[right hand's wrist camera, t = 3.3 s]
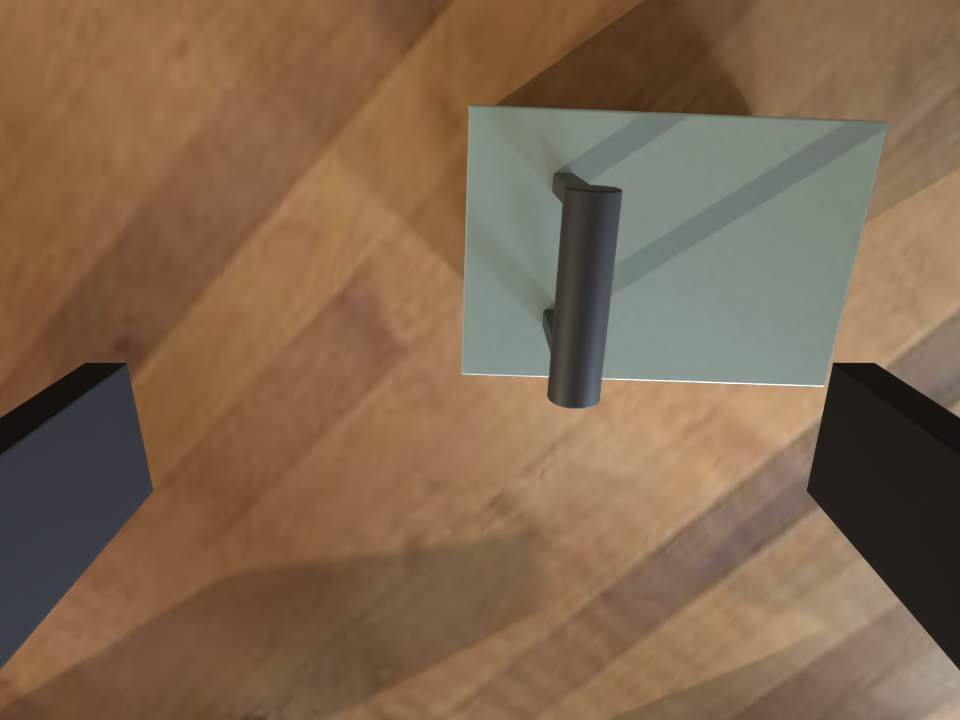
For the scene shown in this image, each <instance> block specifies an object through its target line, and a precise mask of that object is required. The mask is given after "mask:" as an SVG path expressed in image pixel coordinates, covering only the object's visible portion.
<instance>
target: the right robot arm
mask: <svg viewBox="0 0 960 720" xmlns="http://www.w3.org/2000/svg"><path fill="white" fill-rule="evenodd" d="M152 492H153V487H152V483H151V478H150V473H149V468H148V463H147V458H146V454H145V449H144V444H143V439H142V434H141V430H140V425H139V420H138V415H137V410H136V405H135V401H134V396H133V391H132V386H131V381H130V377H129V372H128V367H127V363H85V364H83V365H82V366H80V367H78V368H77V369H75V370H74V371H72V372H71V373H69V374H68V375H66V376H65V377H63V378H61V379H60V380H58V381H57V382H55V383H54V384H52V385H51V386H49V387H48V388H46V389H44V390H43V391H41V392H40V393H38V394H37V395H35V396H34V397H32V398H30V399H29V400H27V401H26V402H24V403H23V404H21V405H20V406H18V407H17V408H15V409H13V410H12V411H10V412H9V413H7V414H6V415H4V416H3V417H1V418H0V670H1V669H2V668H3V666H4V665H5V664H6V663H7V662H8V660H9V659H10V658H11V657H12V656H13V655H14V653H15V652H16V651H17V650H18V649H19V648H20V646H21V645H22V644H23V643H24V642H25V641H26V639H27V638H28V637H29V636H30V635H31V634H32V632H33V631H34V630H35V629H36V628H37V627H38V625H39V624H40V623H41V622H42V621H43V619H44V618H45V617H46V616H47V615H48V614H49V612H50V611H51V610H52V609H53V608H54V607H55V605H56V604H57V603H58V602H59V601H60V600H61V598H62V597H63V596H64V595H65V594H66V593H67V591H68V590H69V589H70V588H71V587H72V585H73V584H74V583H75V582H76V581H77V580H78V578H79V577H80V576H81V575H82V574H83V573H84V571H85V570H86V569H87V568H88V567H89V566H90V564H91V563H92V562H93V561H94V560H95V559H96V557H97V556H98V555H99V554H100V553H101V552H102V550H103V549H104V548H105V547H106V546H107V544H108V543H109V542H110V541H111V540H112V539H113V537H114V536H115V535H116V534H117V533H118V532H119V530H120V529H121V528H122V527H123V526H124V525H125V523H126V522H127V521H128V520H129V519H130V518H131V516H132V515H133V514H134V513H135V512H136V510H137V509H138V508H139V507H140V506H141V505H142V503H143V502H144V501H145V500H146V499H147V498H148V496H149V495H150V494H151V493H152ZM807 492H808V493H809V494H810V495H811V496H812V498H813V499H814V500H815V501H816V502H817V503H818V505H819V506H820V507H821V508H822V509H823V510H824V512H825V513H826V514H827V515H828V516H829V518H830V519H831V520H832V521H833V522H834V523H835V525H836V526H837V527H838V528H839V529H840V530H841V532H842V533H843V534H844V535H845V536H846V537H847V539H848V540H849V541H850V542H851V543H852V544H853V546H854V547H855V548H856V549H857V550H858V552H859V553H860V554H861V555H862V556H863V557H864V559H865V560H866V561H867V562H868V563H869V564H870V566H871V567H872V568H873V569H874V570H875V571H876V573H877V574H878V575H879V576H880V577H881V578H882V580H883V581H884V582H885V583H886V584H887V585H888V587H889V588H890V589H891V590H892V591H893V593H894V594H895V595H896V596H897V597H898V598H899V600H900V601H901V602H902V603H903V604H904V605H905V607H906V608H907V609H908V610H909V611H910V612H911V614H912V615H913V616H914V617H915V618H916V619H917V621H918V622H919V623H920V624H921V625H922V627H923V628H924V629H925V630H926V631H927V632H928V634H929V635H930V636H931V637H932V638H933V639H934V641H935V642H936V643H937V644H938V645H939V646H940V648H941V649H942V650H943V651H944V652H945V653H946V655H947V656H948V657H949V658H950V659H951V660H952V662H953V663H954V664H955V665H956V666H957V668H958V669H959V670H960V418H959V417H957V416H956V415H954V414H953V413H951V412H950V411H948V410H947V409H945V408H943V407H942V406H940V405H939V404H937V403H936V402H934V401H933V400H931V399H930V398H928V397H926V396H925V395H923V394H922V393H920V392H919V391H917V390H916V389H914V388H912V387H911V386H909V385H908V384H906V383H905V382H903V381H902V380H900V379H899V378H897V377H895V376H894V375H892V374H891V373H889V372H888V371H886V370H885V369H883V368H882V367H880V366H878V365H877V364H875V363H833V367H832V372H831V377H830V381H829V386H828V391H827V396H826V401H825V405H824V410H823V415H822V420H821V425H820V430H819V434H818V439H817V444H816V449H815V454H814V458H813V463H812V468H811V473H810V478H809V483H808V487H807Z"/></svg>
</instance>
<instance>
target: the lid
mask: <svg viewBox="0 0 960 720" xmlns="http://www.w3.org/2000/svg"><path fill="white" fill-rule="evenodd" d="M887 127H888V122H887V121H869V120H844V119H819V118H793V117H768V116H743V115H718V114H692V113H667V112H642V111H616V110H591V109H566V108H541V107H515V106H490V105H470V106H469V125H468V159H467V194H466V229H465V263H464V298H463V333H462V367H461V372H462V374H472V375H501V376H531V377H549V380H548V393H547V396H548V399H549V400H550V401H551V402H552V403H554V404H556V405H558V406H561V407H565V408H571V409H586V408H591V407H594V406H595V405H597V404H598V402H599V400H600V391H601V382H602V379H618V380H648V381H677V382H706V383H735V384H765V385H794V386H825V383H826V379H827V375H828V371H829V367H830V363H831V358H832V354H833V350H834V346H835V342H836V338H837V334H838V330H839V325H840V321H841V317H842V313H843V309H844V305H845V301H846V297H847V292H848V288H849V284H850V280H851V276H852V272H853V268H854V264H855V259H856V255H857V251H858V247H859V243H860V239H861V235H862V231H863V226H864V222H865V218H866V214H867V210H868V206H869V202H870V198H871V193H872V189H873V185H874V181H875V177H876V173H877V169H878V165H879V160H880V156H881V152H882V148H883V144H884V140H885V136H886V132H887Z"/></svg>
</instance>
